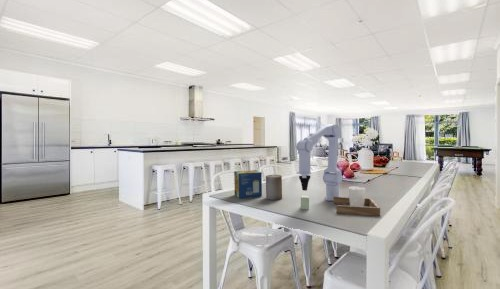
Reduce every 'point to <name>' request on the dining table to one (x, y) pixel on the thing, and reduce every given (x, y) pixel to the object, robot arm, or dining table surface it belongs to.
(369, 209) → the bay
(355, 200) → the white cup
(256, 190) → the protein box
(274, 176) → the pillar candle
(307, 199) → the block
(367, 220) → the dining table surface
